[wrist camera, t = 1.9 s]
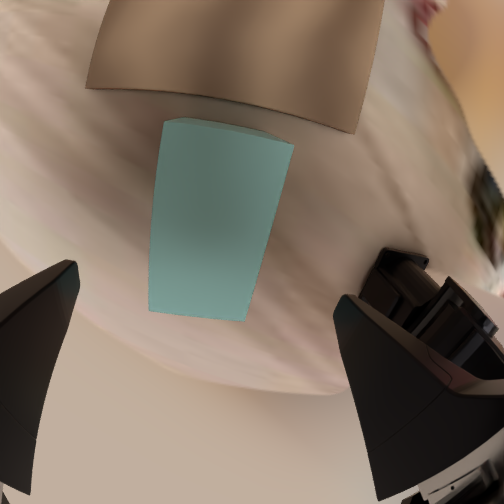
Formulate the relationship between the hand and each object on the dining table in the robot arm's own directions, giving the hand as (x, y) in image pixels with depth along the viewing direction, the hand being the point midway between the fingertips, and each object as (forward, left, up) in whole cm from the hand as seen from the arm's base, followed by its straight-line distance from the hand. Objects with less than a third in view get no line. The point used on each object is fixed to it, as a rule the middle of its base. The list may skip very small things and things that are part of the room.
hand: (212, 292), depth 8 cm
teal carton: (0, 0, -11) cm, 11 cm away
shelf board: (+1, -13, -10) cm, 16 cm away
